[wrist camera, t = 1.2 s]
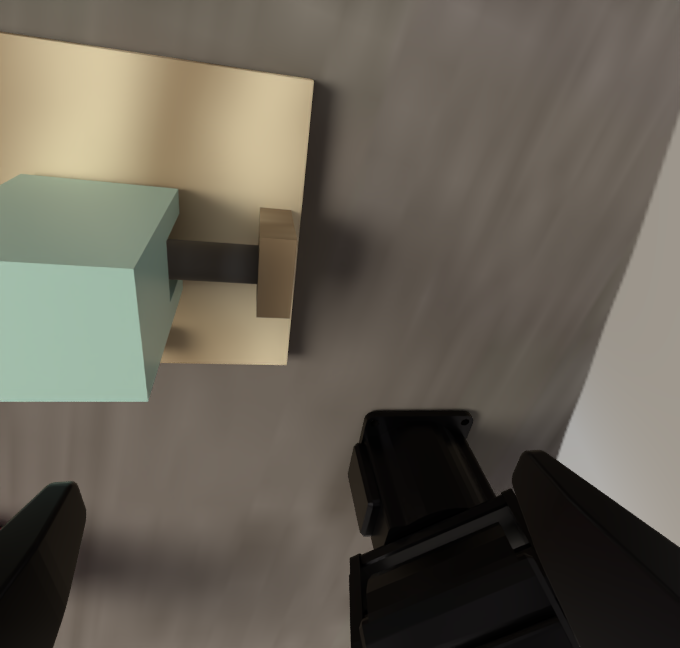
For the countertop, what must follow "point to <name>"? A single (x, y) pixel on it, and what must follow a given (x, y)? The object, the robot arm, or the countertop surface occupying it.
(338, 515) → the countertop surface
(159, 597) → the countertop surface
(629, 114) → the countertop surface
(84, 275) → the sleeve
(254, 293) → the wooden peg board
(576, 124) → the countertop surface
